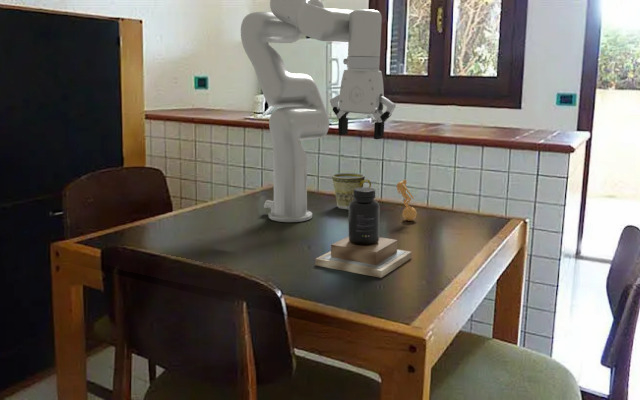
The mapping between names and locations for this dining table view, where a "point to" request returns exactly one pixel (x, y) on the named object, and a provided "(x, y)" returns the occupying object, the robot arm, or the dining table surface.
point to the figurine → (408, 212)
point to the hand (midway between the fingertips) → (360, 136)
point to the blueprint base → (362, 268)
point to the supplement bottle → (364, 217)
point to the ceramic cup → (347, 187)
